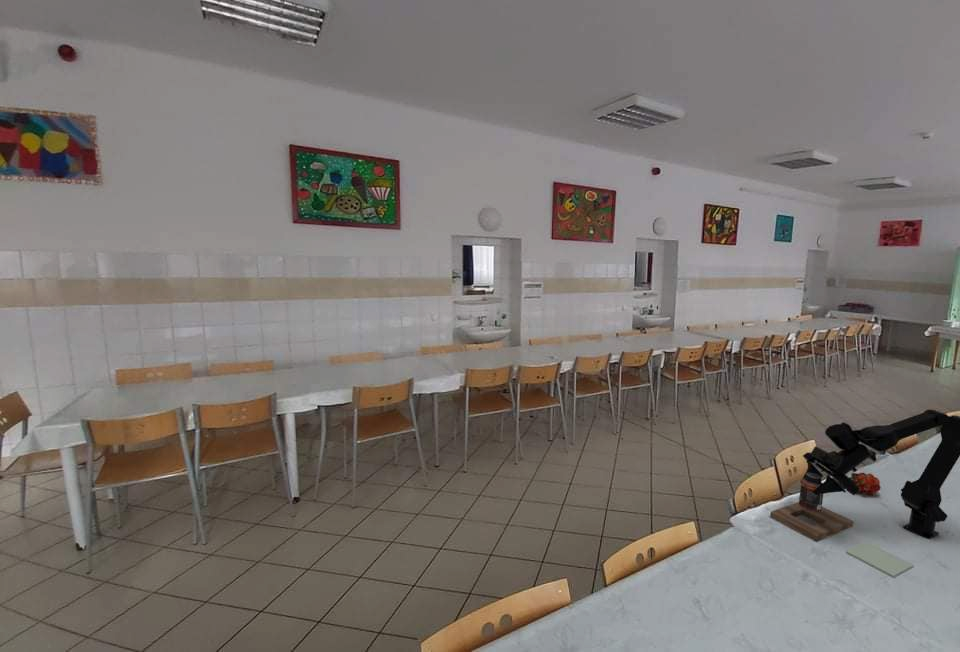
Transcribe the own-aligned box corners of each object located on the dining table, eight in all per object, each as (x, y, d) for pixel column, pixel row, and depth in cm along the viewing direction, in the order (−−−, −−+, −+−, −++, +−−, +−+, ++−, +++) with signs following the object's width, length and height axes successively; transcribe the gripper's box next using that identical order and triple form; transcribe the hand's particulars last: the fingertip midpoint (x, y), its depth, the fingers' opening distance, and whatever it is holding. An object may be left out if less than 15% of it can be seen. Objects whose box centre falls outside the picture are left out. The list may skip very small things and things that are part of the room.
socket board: (805, 504, 152) (806, 499, 152) (852, 526, 140) (853, 521, 139) (770, 517, 144) (770, 511, 144) (816, 541, 131) (817, 535, 131)
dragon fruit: (847, 497, 160) (869, 497, 164) (872, 494, 153) (894, 495, 157) (838, 474, 164) (859, 474, 168) (861, 470, 157) (883, 470, 161)
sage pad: (866, 543, 131) (866, 541, 131) (913, 566, 121) (913, 564, 121) (845, 552, 127) (846, 550, 126) (893, 577, 117) (893, 575, 117)
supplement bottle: (825, 513, 137) (829, 480, 135) (804, 511, 138) (808, 478, 136) (814, 503, 142) (819, 472, 141) (794, 501, 144) (798, 470, 142)
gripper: (812, 429, 146) (774, 458, 148) (854, 453, 127) (810, 485, 130) (833, 452, 146) (795, 480, 149) (878, 479, 128) (834, 511, 130)
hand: (807, 488), depth 139 cm, fingers closed on supplement bottle, 6 cm apart
